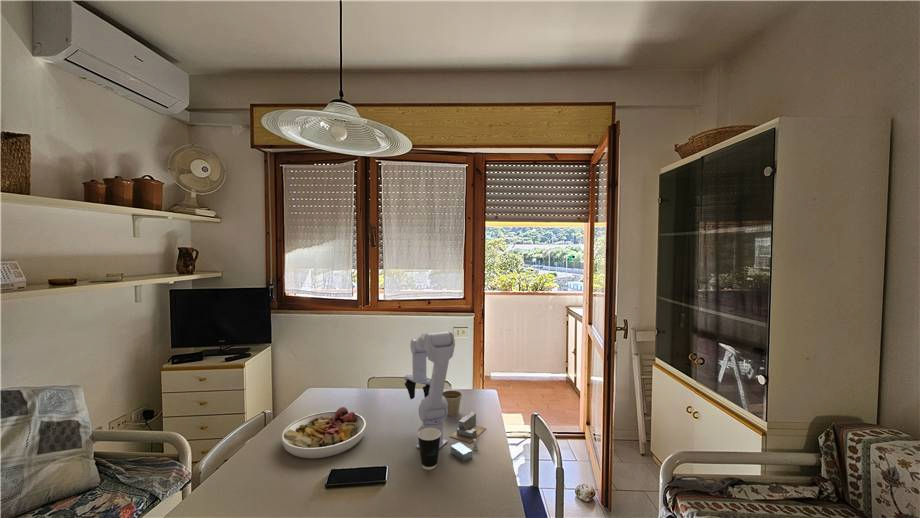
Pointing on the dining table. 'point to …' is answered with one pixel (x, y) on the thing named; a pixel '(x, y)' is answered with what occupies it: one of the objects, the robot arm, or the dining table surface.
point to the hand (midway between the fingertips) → (419, 400)
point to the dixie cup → (429, 447)
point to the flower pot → (452, 401)
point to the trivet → (454, 435)
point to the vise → (463, 450)
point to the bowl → (324, 434)
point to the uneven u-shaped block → (467, 426)
